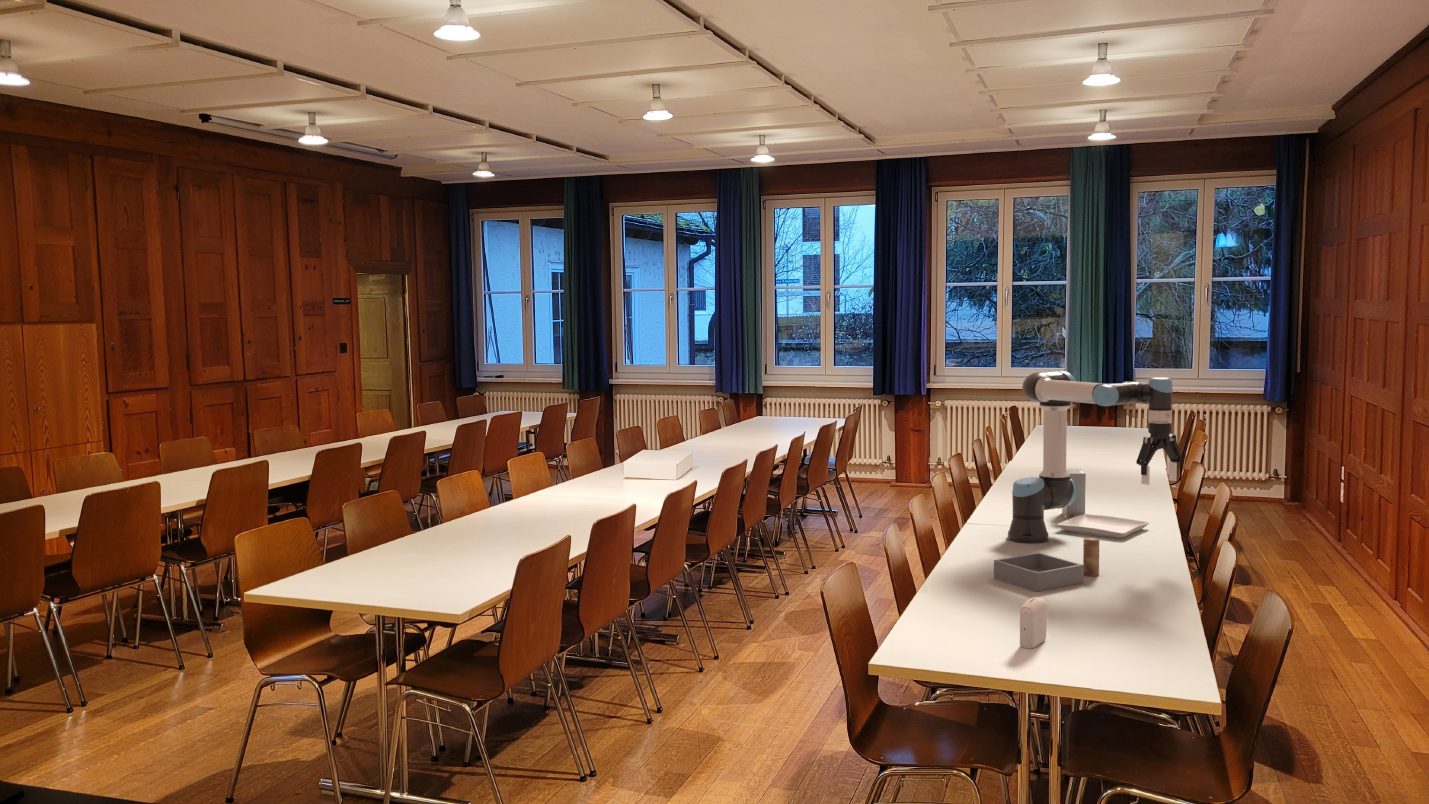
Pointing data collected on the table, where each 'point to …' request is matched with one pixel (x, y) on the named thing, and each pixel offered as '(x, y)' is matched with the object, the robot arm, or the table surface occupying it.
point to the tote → (1038, 571)
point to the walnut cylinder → (1091, 557)
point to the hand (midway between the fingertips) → (1159, 482)
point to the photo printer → (1032, 623)
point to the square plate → (1102, 525)
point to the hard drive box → (1079, 502)
